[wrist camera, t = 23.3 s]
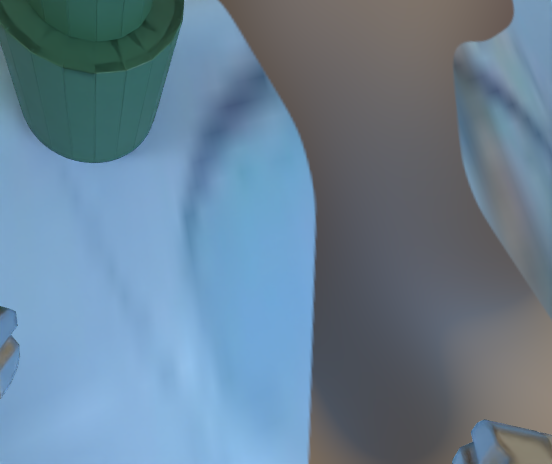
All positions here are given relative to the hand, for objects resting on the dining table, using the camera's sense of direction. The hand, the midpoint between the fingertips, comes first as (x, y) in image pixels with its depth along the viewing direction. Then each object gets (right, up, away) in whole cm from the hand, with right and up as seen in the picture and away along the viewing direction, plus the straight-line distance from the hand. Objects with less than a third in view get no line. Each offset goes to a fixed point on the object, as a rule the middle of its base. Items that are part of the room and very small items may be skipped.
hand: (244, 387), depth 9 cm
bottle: (-11, +11, +24) cm, 29 cm away
